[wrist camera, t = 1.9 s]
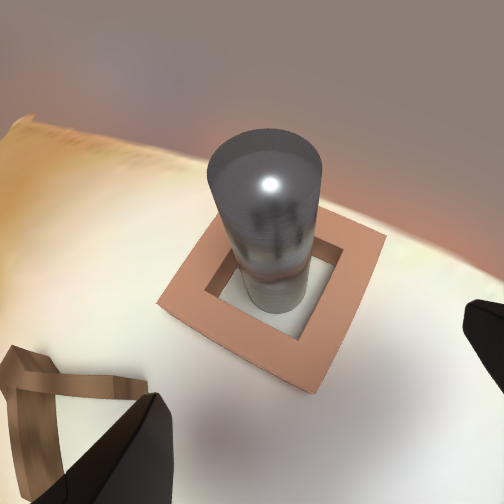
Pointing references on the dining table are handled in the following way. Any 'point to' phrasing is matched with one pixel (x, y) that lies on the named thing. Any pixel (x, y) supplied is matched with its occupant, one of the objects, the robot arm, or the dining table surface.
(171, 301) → the sleeve block
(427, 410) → the dining table surface
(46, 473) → the v block
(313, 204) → the steel axle
